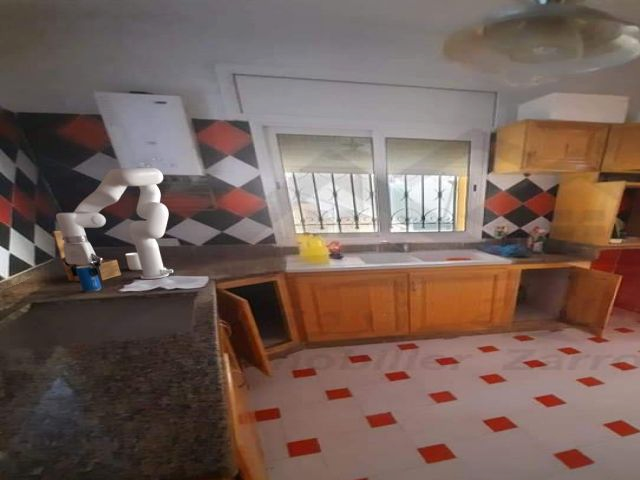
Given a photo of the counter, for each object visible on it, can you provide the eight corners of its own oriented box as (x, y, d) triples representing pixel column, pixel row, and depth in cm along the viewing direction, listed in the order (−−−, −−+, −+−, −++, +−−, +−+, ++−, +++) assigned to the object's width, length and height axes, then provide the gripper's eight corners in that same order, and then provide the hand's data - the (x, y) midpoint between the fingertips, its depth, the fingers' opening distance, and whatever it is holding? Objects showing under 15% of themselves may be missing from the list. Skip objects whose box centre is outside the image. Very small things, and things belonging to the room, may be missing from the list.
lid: (76, 228, 175) (66, 228, 175) (54, 231, 163) (43, 231, 163) (85, 259, 181) (76, 259, 180) (64, 264, 169) (53, 264, 168)
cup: (126, 269, 198) (121, 254, 195) (145, 266, 206) (141, 251, 203) (133, 271, 193) (129, 255, 190) (152, 268, 202) (148, 252, 199)
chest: (121, 274, 185) (116, 260, 182) (102, 280, 173) (97, 264, 171) (90, 275, 184) (85, 260, 181) (69, 280, 172) (63, 265, 169)
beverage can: (90, 292, 152) (81, 268, 149) (79, 291, 154) (71, 267, 150) (105, 288, 158) (97, 265, 155) (95, 288, 160) (87, 264, 156)
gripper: (47, 241, 144) (60, 277, 149) (88, 240, 145) (100, 277, 151) (63, 238, 151) (75, 273, 156) (102, 238, 153) (113, 273, 158)
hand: (87, 275), depth 153 cm, fingers open, 8 cm apart
